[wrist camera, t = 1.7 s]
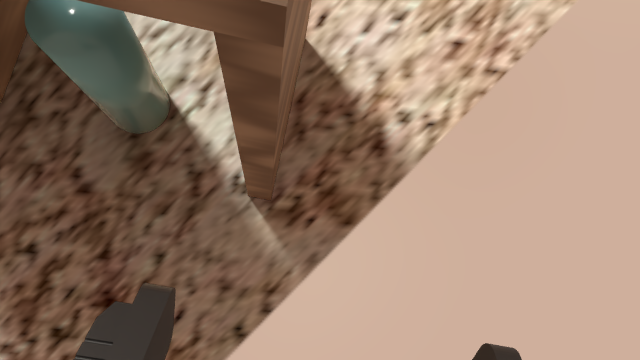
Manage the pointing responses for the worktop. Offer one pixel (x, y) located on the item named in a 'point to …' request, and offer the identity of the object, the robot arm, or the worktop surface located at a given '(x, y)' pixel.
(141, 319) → the robot arm
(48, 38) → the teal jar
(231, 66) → the walnut shelf
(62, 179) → the worktop surface
